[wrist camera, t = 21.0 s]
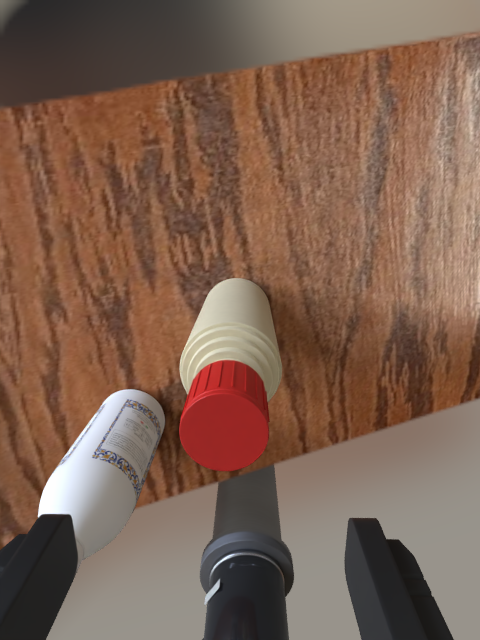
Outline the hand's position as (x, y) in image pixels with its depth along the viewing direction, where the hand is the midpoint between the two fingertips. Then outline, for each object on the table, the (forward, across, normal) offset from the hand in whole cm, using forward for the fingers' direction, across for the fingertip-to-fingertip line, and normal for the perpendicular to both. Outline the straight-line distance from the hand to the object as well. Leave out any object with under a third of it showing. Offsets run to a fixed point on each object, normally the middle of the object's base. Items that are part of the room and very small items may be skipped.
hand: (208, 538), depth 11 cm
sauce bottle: (+27, 0, +1) cm, 27 cm away
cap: (+10, 0, +1) cm, 10 cm away
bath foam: (+27, +11, +12) cm, 32 cm away
